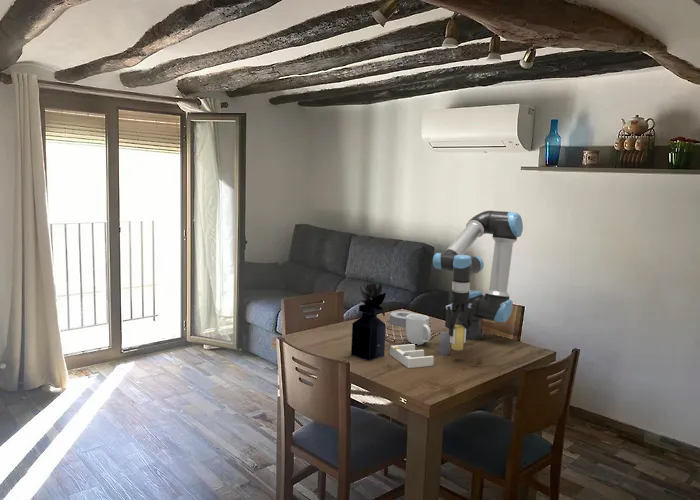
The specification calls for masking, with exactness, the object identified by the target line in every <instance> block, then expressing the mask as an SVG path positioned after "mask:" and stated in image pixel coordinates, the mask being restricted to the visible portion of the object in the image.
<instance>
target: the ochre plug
mask: <svg viewBox="0 0 700 500" xmlns="http://www.w3.org/2000/svg"><path fill="white" fill-rule="evenodd" d="M454 329H455V344H452V343H451V346H450V349H452V350H454V351H462V350H464V343H463V340H464V326H462V325H455V326H454Z"/></svg>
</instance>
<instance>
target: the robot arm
mask: <svg viewBox="0 0 700 500" xmlns="http://www.w3.org/2000/svg"><path fill="white" fill-rule="evenodd" d="M523 229H524V225H523V220H522V216H521V214H519V213H518V212H514V211H499V210H485V211H484V210H483V211H482V212H480V213H478V214H476V215H474V216H473V217H472V218H470V219H469V220H468V222H466V224H465V228H464V229H463V230H462V231H461V232H460V234H459V235H458V236H457V237H456V238H455V239H454V240H453V242H452V243H451V244H450V245H449V246H448V247H447V248H446V249H445V250H444V252H443V253H442V252H436V253H435V254H434V255H433V258H432V264H433V267H434V268H435V269H437V270H441V271H447V272H448V271H449V272H452V280H451V281H452V282H451V284H452V285H451V290H452V291H451V301H450V304H448V305H447V304H446V305H445V306H444V308H445V322H444V323H445V324H444V325H445V328H446V329H447V328H448V331H449V336H450V344H451V345H452V344H455V329H454V326H455V325H462V326H464V340H463V344H465V343H466V340H470V341H471V340H474V341H475V340H481V339H483V335H484V332H483V327H482V324H481V319H483V320H487V321H493V322H495V323H496V322H498V323H505V322H507V321H508V320H509V318H510V316H511V314H512V312H513V308H514V302H513V300H511V299H510V294H509V292H508V287H509V286H508V285H509V278H510V270H511V262H512V257H513V255H512V254H513V247H514V243H515V242H517V240H518V238H520V237H521V236H522V233H523ZM486 234H487V235H488V234H489V235H492V236H491V237H492V239H493V241H494V247H493V255H492V263H491V269H490V270H491V271H490V281H489V287H488V290H487V291H486V292H485V294H484V293H483V292H482V291H481V290H471V289H470V288H471V285H470V284H471V275H475V274H478V273H480V272H482V270H483V269H484V267H485V264H484V261H483V259H482V258H481V257H480V256H475V255H473V256H470V255H467V254H465V253H466V252H467V251H468V250H469V249H470V247H471V246H472V245H473V243H475V241H476V240H477V239H478V238H480V237H483V235H486ZM483 294H484V295H483Z"/></svg>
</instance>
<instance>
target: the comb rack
mask: <svg viewBox="0 0 700 500" xmlns="http://www.w3.org/2000/svg"><path fill="white" fill-rule="evenodd" d="M389 348H390V349H389V355H390V356H391V357H393V359H395V360H396V361H398V362H399V363H401V365H404V366H405V367H406V368H407V369H413V368H423V367H434V363H435V362H434V360H435V356H434V355H428V356H426V355H425V350H424V349H417V350H416V345H415V344H410V343H407V344H396V345H390V347H389Z"/></svg>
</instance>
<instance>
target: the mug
mask: <svg viewBox="0 0 700 500" xmlns="http://www.w3.org/2000/svg"><path fill="white" fill-rule="evenodd" d="M405 334H406V338H407V341H408V343H409V342H411V343H414V344H417V345H416V346H423V344H425V343H427V342H430V340H431V338H432V331H431V328H430V317H429V316H428V315H425V314H419V313H418V314H417V313H415V314H410V315H407V316H406V327H405Z"/></svg>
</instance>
